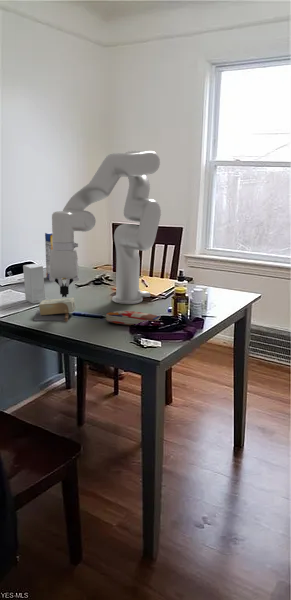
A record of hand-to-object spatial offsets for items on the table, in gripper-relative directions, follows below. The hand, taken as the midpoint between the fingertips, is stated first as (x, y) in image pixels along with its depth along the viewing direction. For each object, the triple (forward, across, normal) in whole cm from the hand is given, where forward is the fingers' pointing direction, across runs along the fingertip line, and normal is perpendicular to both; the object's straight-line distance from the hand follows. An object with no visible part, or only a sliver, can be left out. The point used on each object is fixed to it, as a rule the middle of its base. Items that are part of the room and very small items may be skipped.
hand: (64, 296), depth 178 cm
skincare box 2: (+4, -4, 0) cm, 5 cm away
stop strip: (+8, -1, 0) cm, 8 cm away
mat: (+8, +5, 0) cm, 9 cm away
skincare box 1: (+8, +14, -21) cm, 26 cm away
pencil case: (+8, -25, +11) cm, 28 cm away
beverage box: (+8, +7, -64) cm, 65 cm away
